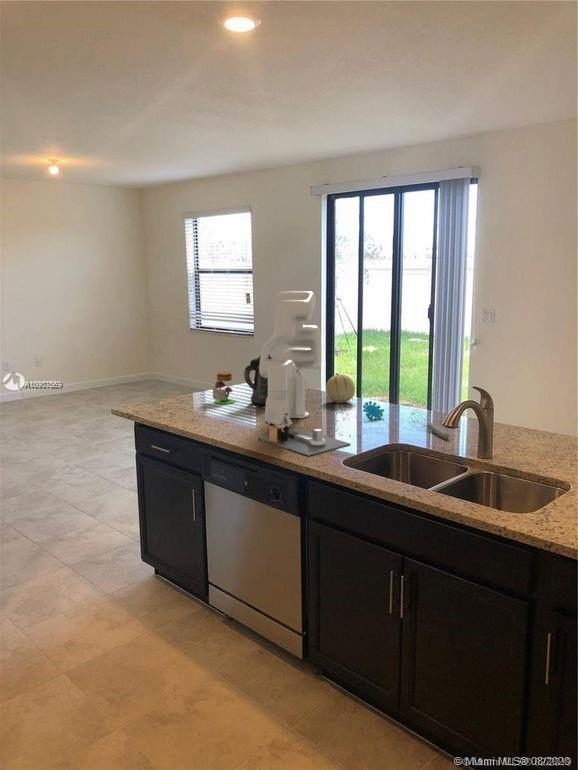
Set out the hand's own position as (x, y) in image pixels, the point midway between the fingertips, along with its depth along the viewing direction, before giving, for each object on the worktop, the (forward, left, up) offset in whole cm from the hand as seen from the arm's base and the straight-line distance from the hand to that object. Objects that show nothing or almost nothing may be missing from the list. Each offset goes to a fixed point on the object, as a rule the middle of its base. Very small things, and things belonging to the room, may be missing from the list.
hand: (277, 438), depth 234 cm
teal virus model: (0, +57, -2) cm, 57 cm away
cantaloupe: (-33, +69, -2) cm, 77 cm away
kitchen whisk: (+28, +61, -2) cm, 67 cm away
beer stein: (-55, +38, -2) cm, 67 cm away
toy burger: (-74, +26, -2) cm, 78 cm away
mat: (+6, +8, -2) cm, 10 cm away
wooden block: (0, 0, -1) cm, 1 cm away
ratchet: (+5, +8, -1) cm, 10 cm away
